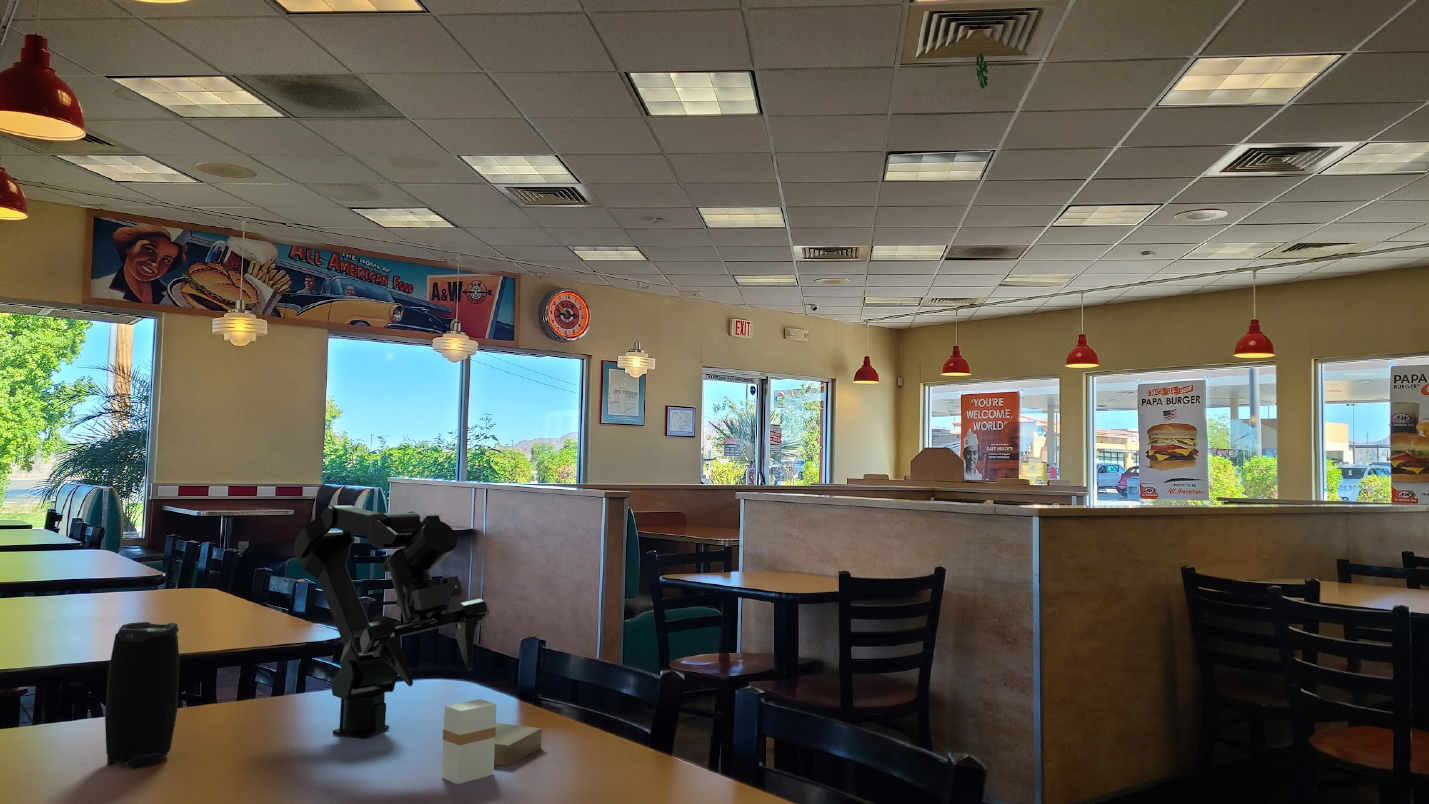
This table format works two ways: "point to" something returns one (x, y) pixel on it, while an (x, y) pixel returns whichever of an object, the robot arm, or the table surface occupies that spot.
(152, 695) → the portable speaker
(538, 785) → the table surface
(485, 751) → the carton
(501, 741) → the base
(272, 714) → the table surface
